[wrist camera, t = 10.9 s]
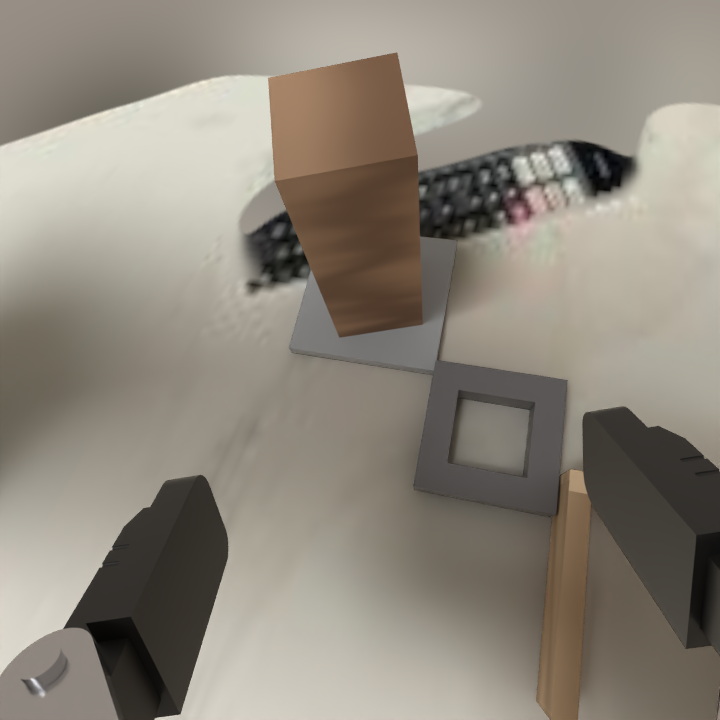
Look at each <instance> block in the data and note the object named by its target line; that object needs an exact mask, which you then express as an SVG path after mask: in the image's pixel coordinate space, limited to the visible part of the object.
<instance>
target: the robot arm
mask: <svg viewBox="0 0 720 720" xmlns="http://www.w3.org/2000/svg"><path fill="white" fill-rule="evenodd" d="M583 475H584V483H585V487H586V491H587V494H588V497H589V499H590V502H591V504H592V505H593V507H594V509H595V510H596V512H597V513H598V515H599V516H600V518H601V519H602V521H603V522H604V524H605V526H606V527H607V529H608V530H609V532H610V533H611V535H612V536H613V538H614V539H615V541H616V542H617V544H618V545H619V547H620V549H621V550H622V552H623V553H624V555H625V556H626V558H627V559H628V561H629V562H630V564H631V565H632V567H633V568H634V570H635V572H636V573H637V575H638V576H639V578H640V579H641V581H642V582H643V584H644V585H645V587H646V588H647V590H648V591H649V593H650V595H651V596H652V598H653V599H654V601H655V602H656V604H657V605H658V607H659V608H660V610H661V611H662V613H663V615H664V616H665V618H666V619H667V621H668V622H669V624H670V625H671V627H672V628H673V630H674V631H675V633H676V634H677V636H678V638H679V639H680V641H681V642H682V644H683V645H684V647H685V648H686V649H689V648H696V647H704V646H711V645H712V646H713V647H714V648H715V650H716V651H717V653H718V654H719V656H720V472H719V469H718V468H717V467H716V466H715V465H714V464H713V463H711V462H710V461H709V460H708V459H704V457H703V454H701V453H700V452H699V451H698V450H697V449H696V448H695V447H694V446H693V445H691V444H690V443H689V442H688V441H687V440H686V439H685V438H683V437H681V436H678V435H676V434H674V433H672V432H670V431H668V430H666V429H663V428H661V427H659V426H656V427H650V428H648V427H647V426H646V425H644V424H643V423H642V422H641V421H640V420H639V419H638V418H637V417H636V416H635V415H634V414H633V413H632V412H631V411H630V410H629V409H628V408H626V407H616V408H610V409H604V410H598V411H592V412H587V413H585V414H584V416H583ZM112 547H113V550H111V551H109V553H108V555H107V556H106V558H105V560H104V561H103V563H102V564H103V567H102V568H99V570H98V571H97V573H96V575H95V577H94V578H93V580H92V582H91V583H90V585H89V587H88V588H87V590H86V592H85V593H84V595H83V597H82V598H81V600H80V602H79V603H78V605H77V607H76V608H75V610H74V612H73V613H72V615H71V617H70V618H69V620H68V622H67V623H66V625H65V627H64V628H63V629H62V630H59V631H55V632H53V633H51V634H48V635H46V636H44V637H43V638H41V639H39V640H37V641H36V642H34V643H33V644H31V645H30V646H29V647H27V648H26V649H25V650H23V651H22V652H21V653H20V654H19V655H18V656H17V657H16V658H15V659H14V660H13V661H12V662H11V663H10V664H9V665H8V666H7V667H6V669H5V670H4V671H3V673H2V674H1V676H0V720H154V719H155V718H157V717H165V716H172V715H179V714H181V711H182V707H183V704H184V701H185V697H186V694H187V691H188V687H189V684H190V681H191V678H192V674H193V671H194V668H195V664H196V661H197V658H198V655H199V651H200V648H201V645H202V641H203V638H204V635H205V632H206V628H207V625H208V622H209V618H210V615H211V612H212V608H213V605H214V602H215V599H216V595H217V592H218V589H219V585H220V582H221V579H222V576H223V572H224V569H225V566H226V562H227V558H228V537H227V533H226V529H225V526H224V524H223V521H222V518H221V516H220V513H219V510H218V507H217V505H216V502H215V499H214V497H213V494H212V491H211V488H210V486H209V483H208V481H207V479H206V478H205V477H204V476H202V475H198V476H192V477H186V478H179V479H173V480H168V481H166V482H165V483H164V484H163V485H162V487H161V489H160V491H159V493H158V494H157V496H156V498H155V500H154V502H153V503H152V505H151V507H148V508H143V509H142V510H141V511H140V512H139V513H138V514H137V515H136V516H135V517H134V518H133V519H132V520H131V521H130V522H129V523H128V524H127V525H126V526H124V528H123V530H122V531H121V533H120V535H119V536H118V538H117V540H116V541H115V543H114V545H113V546H112ZM716 720H720V686H719V694H718V703H717V711H716Z"/></svg>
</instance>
